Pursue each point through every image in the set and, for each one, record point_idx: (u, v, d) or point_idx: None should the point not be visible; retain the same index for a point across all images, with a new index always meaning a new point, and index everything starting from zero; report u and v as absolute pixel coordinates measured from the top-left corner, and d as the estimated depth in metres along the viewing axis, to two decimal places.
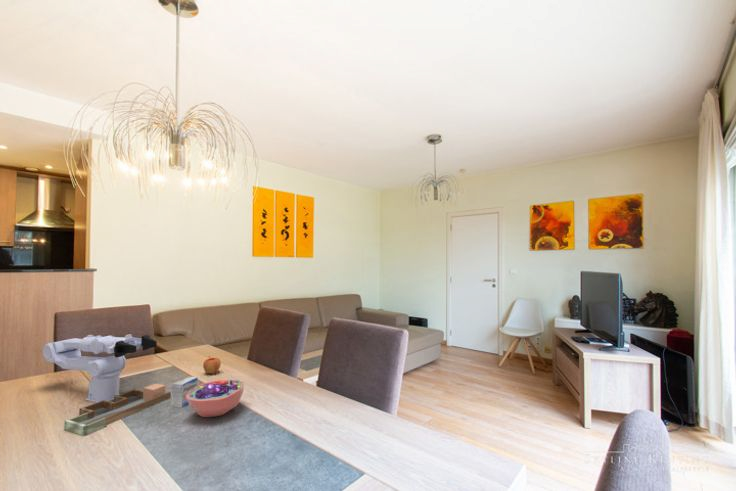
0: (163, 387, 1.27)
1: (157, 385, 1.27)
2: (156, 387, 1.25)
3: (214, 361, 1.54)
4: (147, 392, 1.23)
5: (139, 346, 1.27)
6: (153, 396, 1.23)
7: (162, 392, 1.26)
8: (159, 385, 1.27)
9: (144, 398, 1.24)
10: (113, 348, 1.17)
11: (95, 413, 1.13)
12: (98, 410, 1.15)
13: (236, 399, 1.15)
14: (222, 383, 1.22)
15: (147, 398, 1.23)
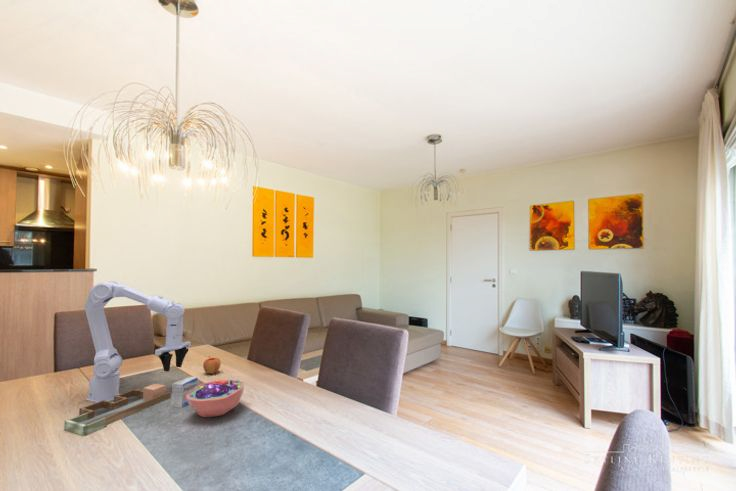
0: (163, 387, 1.27)
1: (157, 385, 1.27)
2: (156, 387, 1.25)
3: (214, 361, 1.54)
4: (147, 392, 1.23)
5: None
6: (153, 396, 1.23)
7: (162, 392, 1.26)
8: (159, 385, 1.27)
9: (144, 398, 1.24)
10: (160, 354, 1.27)
11: (95, 413, 1.13)
12: (98, 410, 1.15)
13: (236, 399, 1.15)
14: (222, 383, 1.22)
15: (147, 398, 1.23)
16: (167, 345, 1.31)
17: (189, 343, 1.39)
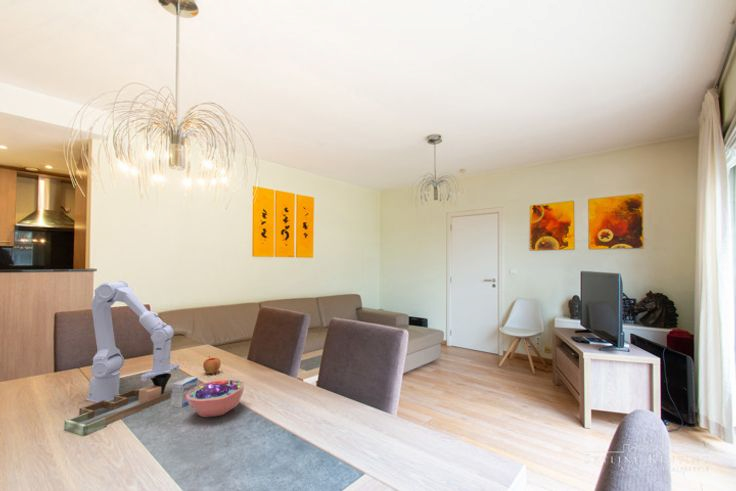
0: (159, 389, 1.25)
1: (153, 386, 1.26)
2: (152, 389, 1.23)
3: (214, 361, 1.54)
4: (143, 394, 1.22)
5: None
6: (149, 398, 1.21)
7: (158, 394, 1.25)
8: (155, 387, 1.25)
9: (140, 400, 1.22)
10: (146, 380, 1.22)
11: (95, 413, 1.13)
12: (98, 410, 1.15)
13: (236, 399, 1.15)
14: (222, 383, 1.22)
15: (143, 400, 1.22)
16: (154, 370, 1.26)
17: (177, 366, 1.34)
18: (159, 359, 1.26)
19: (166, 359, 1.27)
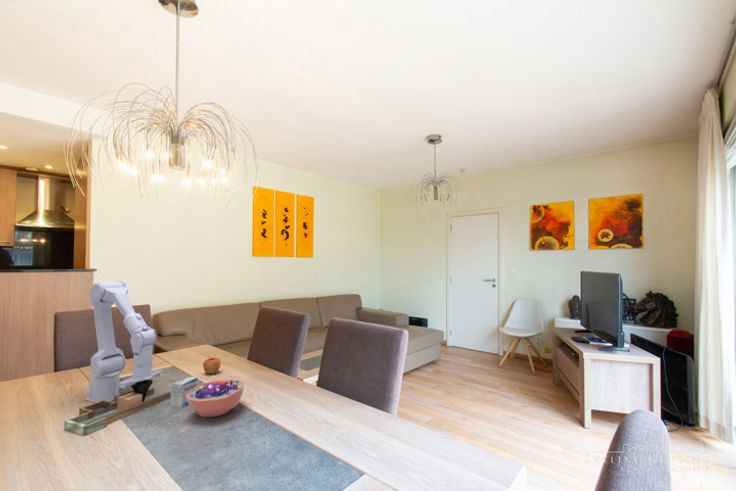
0: (139, 396, 1.18)
1: (133, 394, 1.18)
2: (132, 396, 1.16)
3: (214, 361, 1.54)
4: (122, 402, 1.15)
5: None
6: (128, 406, 1.14)
7: (138, 402, 1.17)
8: (135, 394, 1.18)
9: (118, 408, 1.15)
10: (124, 387, 1.15)
11: (95, 413, 1.13)
12: (98, 410, 1.15)
13: (236, 399, 1.15)
14: (222, 383, 1.22)
15: (122, 408, 1.15)
16: (134, 376, 1.19)
17: (160, 372, 1.27)
18: (136, 365, 1.19)
19: (147, 365, 1.20)
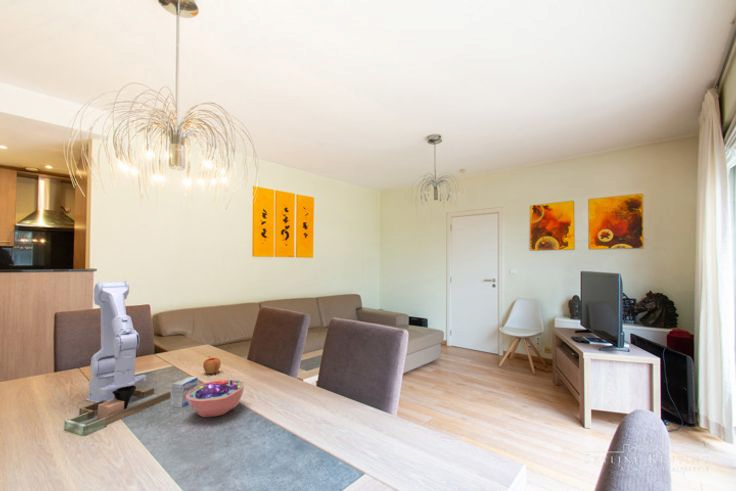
0: (121, 403, 1.12)
1: (115, 401, 1.13)
2: (113, 404, 1.10)
3: (214, 361, 1.54)
4: (102, 410, 1.09)
5: None
6: (108, 414, 1.08)
7: (120, 409, 1.11)
8: (117, 401, 1.12)
9: (99, 416, 1.09)
10: (105, 394, 1.09)
11: (95, 413, 1.13)
12: None
13: (236, 399, 1.15)
14: (222, 383, 1.22)
15: (102, 416, 1.09)
16: (115, 382, 1.13)
17: (144, 377, 1.21)
18: (115, 370, 1.13)
19: (129, 370, 1.14)
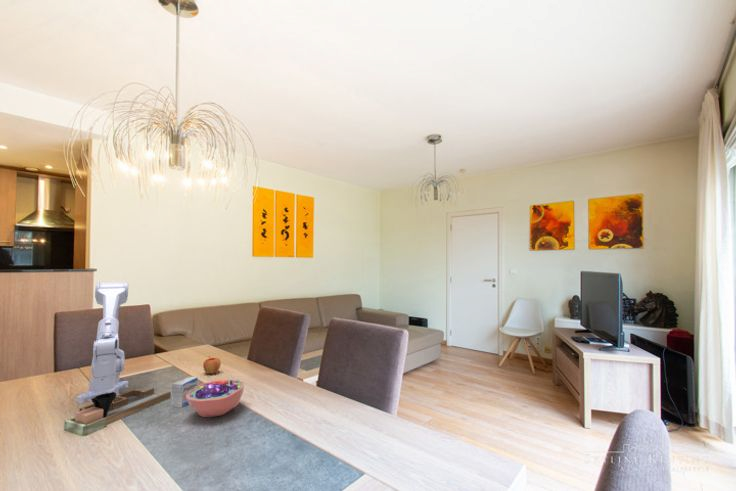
0: (100, 412, 1.06)
1: (93, 409, 1.06)
2: (91, 412, 1.04)
3: (214, 361, 1.54)
4: (79, 419, 1.03)
5: None
6: (86, 423, 1.02)
7: (99, 418, 1.05)
8: (96, 409, 1.06)
9: None
10: (82, 402, 1.03)
11: None
12: None
13: (236, 399, 1.15)
14: (222, 383, 1.22)
15: None
16: (94, 389, 1.07)
17: (126, 383, 1.15)
18: (93, 375, 1.07)
19: (109, 376, 1.08)
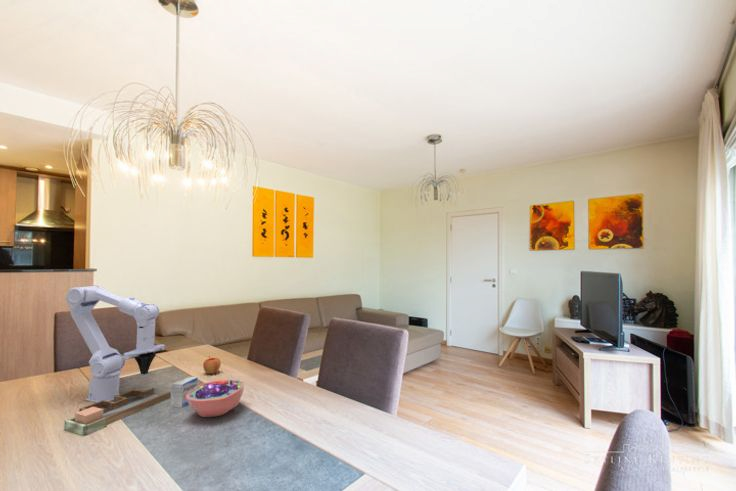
0: (100, 412, 1.06)
1: (93, 409, 1.06)
2: (91, 412, 1.04)
3: (214, 361, 1.54)
4: (79, 419, 1.03)
5: None
6: (86, 423, 1.02)
7: (99, 418, 1.05)
8: (96, 409, 1.06)
9: None
10: (128, 358, 1.20)
11: None
12: None
13: (236, 399, 1.15)
14: (222, 383, 1.22)
15: None
16: (137, 348, 1.24)
17: (163, 346, 1.32)
18: (142, 338, 1.24)
19: (150, 338, 1.25)
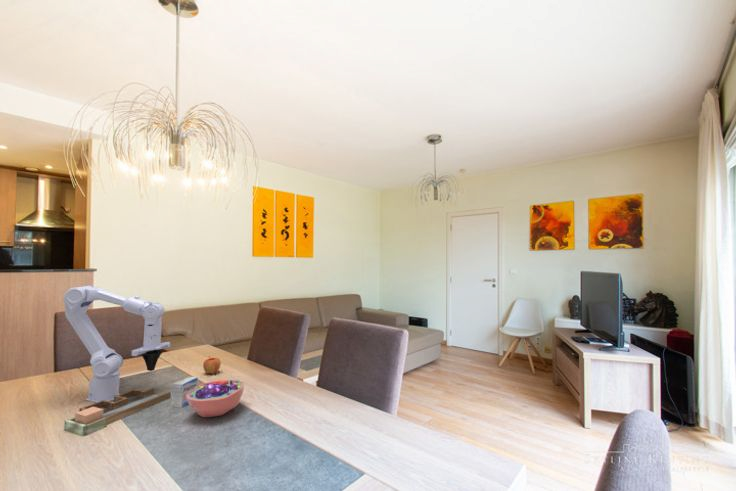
0: (100, 412, 1.06)
1: (93, 409, 1.06)
2: (91, 412, 1.04)
3: (214, 361, 1.54)
4: (79, 419, 1.03)
5: None
6: (86, 423, 1.02)
7: (99, 418, 1.05)
8: (96, 409, 1.06)
9: None
10: (136, 355, 1.24)
11: None
12: None
13: (236, 399, 1.15)
14: (222, 383, 1.22)
15: None
16: (144, 346, 1.27)
17: (168, 344, 1.36)
18: (151, 335, 1.28)
19: (157, 336, 1.29)
